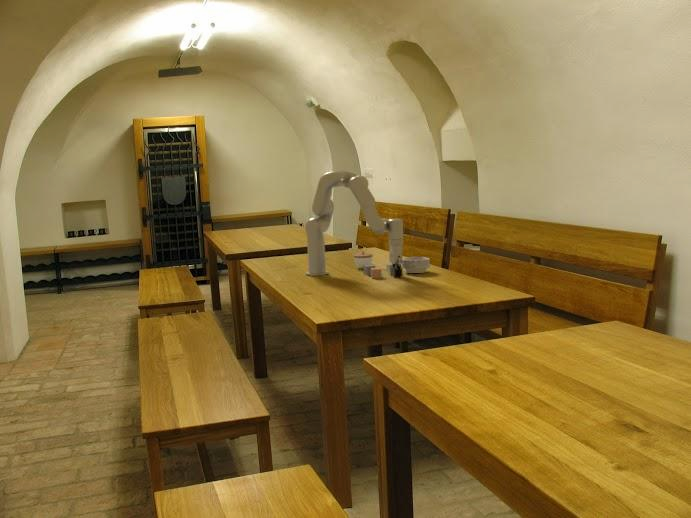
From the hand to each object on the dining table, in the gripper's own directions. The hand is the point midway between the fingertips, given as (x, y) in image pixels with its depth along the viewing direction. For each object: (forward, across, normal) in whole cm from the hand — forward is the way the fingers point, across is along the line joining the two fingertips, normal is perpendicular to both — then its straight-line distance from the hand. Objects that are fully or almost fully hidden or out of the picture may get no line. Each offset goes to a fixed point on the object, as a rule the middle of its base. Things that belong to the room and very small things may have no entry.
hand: (396, 275), depth 378 cm
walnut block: (+1, 0, 0) cm, 1 cm away
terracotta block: (+1, -1, -11) cm, 11 cm away
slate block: (+1, -12, -12) cm, 17 cm away
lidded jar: (+1, -34, -10) cm, 35 cm away
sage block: (+1, -12, +1) cm, 12 cm away
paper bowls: (+1, -8, +13) cm, 15 cm away
